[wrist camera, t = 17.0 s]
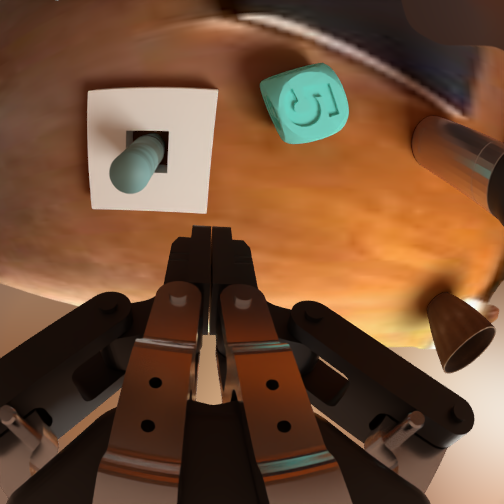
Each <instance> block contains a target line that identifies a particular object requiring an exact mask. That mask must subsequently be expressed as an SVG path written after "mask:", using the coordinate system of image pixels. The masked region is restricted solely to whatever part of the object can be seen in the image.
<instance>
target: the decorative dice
mask: <svg viewBox="0 0 504 504" xmlns="http://www.w3.org/2000/svg"><path fill="white" fill-rule="evenodd" d="M260 90H261V93H262V97H263V99H264V102H265V105H266V107H267V110H268V112H269V115H270V117H271V119H272V122H273V124H274V126H275V128H276V130H277V132H278V134H279V135H280V137H281V139H282V140H283V141H284V142H286V143H289V144H301V143H307V142H312V141H316V140H320V139H323V138H326V137H328V136H331V135H333V134H335V133H337V132H338V131H340V130H341V129H342V128H343V127H344V125H345V123H346V121H347V119H348V115H349V108H348V102H347V97H346V94H345V91H344V89H343V86H342V84H341V82H340V80H339V78H338V77H337V75H336V74H335V72H334V71H333V70H332V69H331V68H330V67H329V66H328V65H326V64H324V63H318V64H312V65H308V66H304V67H300V68H296V69H293V70H289V71H286V72H283V73H280V74H277V75H274V76H272V77H269V78H267V79H264V80H262V81H261V83H260Z"/></svg>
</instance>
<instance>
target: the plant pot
mask: <svg viewBox="0 0 504 504" xmlns="http://www.w3.org/2000/svg"><path fill="white" fill-rule="evenodd" d="M427 314H428V319H429V324H430V329H431V333H432V337H433V341H434V344H435V347H436V351H437V354H438V356H439V359H440V362H441V365H442V368H443V370H444V372H445V373H453V372H456V371H459V370H461V369H462V368H464V367H466V366H467V365H468V364H470V363H472V362H473V361H474V360H475V359H476V358H478V357H479V356H480V355H481V354H482V353H483V352H484V351H485V350H486V349H487V347H488V346H489V345H490V343H491V342H492V340H493V338H494V336H495V333H496V329H495V327H494V326H493V325H492V324H491V323H490V322H489V321H488V320H487V319H486V318H485V317H484V316H483V315H481V314H480V313H479V312H478V311H477V310H475V309H474V308H473V307H471V306H470V305H469V304H467V303H466V302H464V301H463V300H461V299H459V298H458V297H456V296H454V295H452V294H450V293H448V292H444V293H441V294H439V295H438V296H436V297H435V298H434V299H433V300H432V301H431V302H430V304H429V306H428V308H427Z"/></svg>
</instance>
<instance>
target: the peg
mask: <svg viewBox="0 0 504 504" xmlns="http://www.w3.org/2000/svg"><path fill="white" fill-rule="evenodd" d="M164 149H165V141H164V139H163V138H162V136H160V135H159V134H156V133H150V134H147V135H143V136H140V137H139V138H137V139H136V140H135V141H134V142H133V143H132V144H131V145H130V146H129V147H127V148H126V149H125V150H124V151H123V152H122V153H121V154H120V155H119V156H117V157H116V158H115V159H114V160H113V162H112V163H111V166H110V170H109V176H110V180H111V182H112V184H113V185H114V187H115V188H116V189H117V190H119V191H121V192H123V193H126V194H134V193H137V192H140V191H141V190H143V189H144V188H145V187H146V185H147V184H148V182H149V180H150V178H151V177H152V175H153V173H154V172H155V170H156V168H157V167H158V165H159V163H160V162H161V161H162V159H163V157H164Z"/></svg>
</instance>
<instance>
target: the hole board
mask: <svg viewBox="0 0 504 504" xmlns="http://www.w3.org/2000/svg"><path fill="white" fill-rule="evenodd" d="M217 98H218V89H208V88H190V87H125V88H107V89H96V90H91V91H88V106H87V139H88V165H89V180H90V192H91V203H92V209H115V210H144V211H167V212H187V213H205V214H206V213H207V200H208V187H209V175H210V164H211V153H212V143H213V133H214V124H215V115H216V106H217ZM133 131H169V143H168V165H158V167H157V168H156V170H155V172H154V173H153V175H152V177H151V178H150V180H149V182H148V184H147V185H146V187H145V188H144V189H143V190H141V191H140V192H137V193H134V194H126V193H123V192H121V191H119V190H117V189H116V188H115V187H114V185H113V184H112V182H111V180H110V176H109V170H110V166H111V163H112V162H113V160H114V159H115V158H116V157H117V156H119V155H120V154H121V153H122V152H123V151H124V150H125V149H126V148H127V147H129V146H130V145H131V144H132V143H133Z"/></svg>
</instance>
